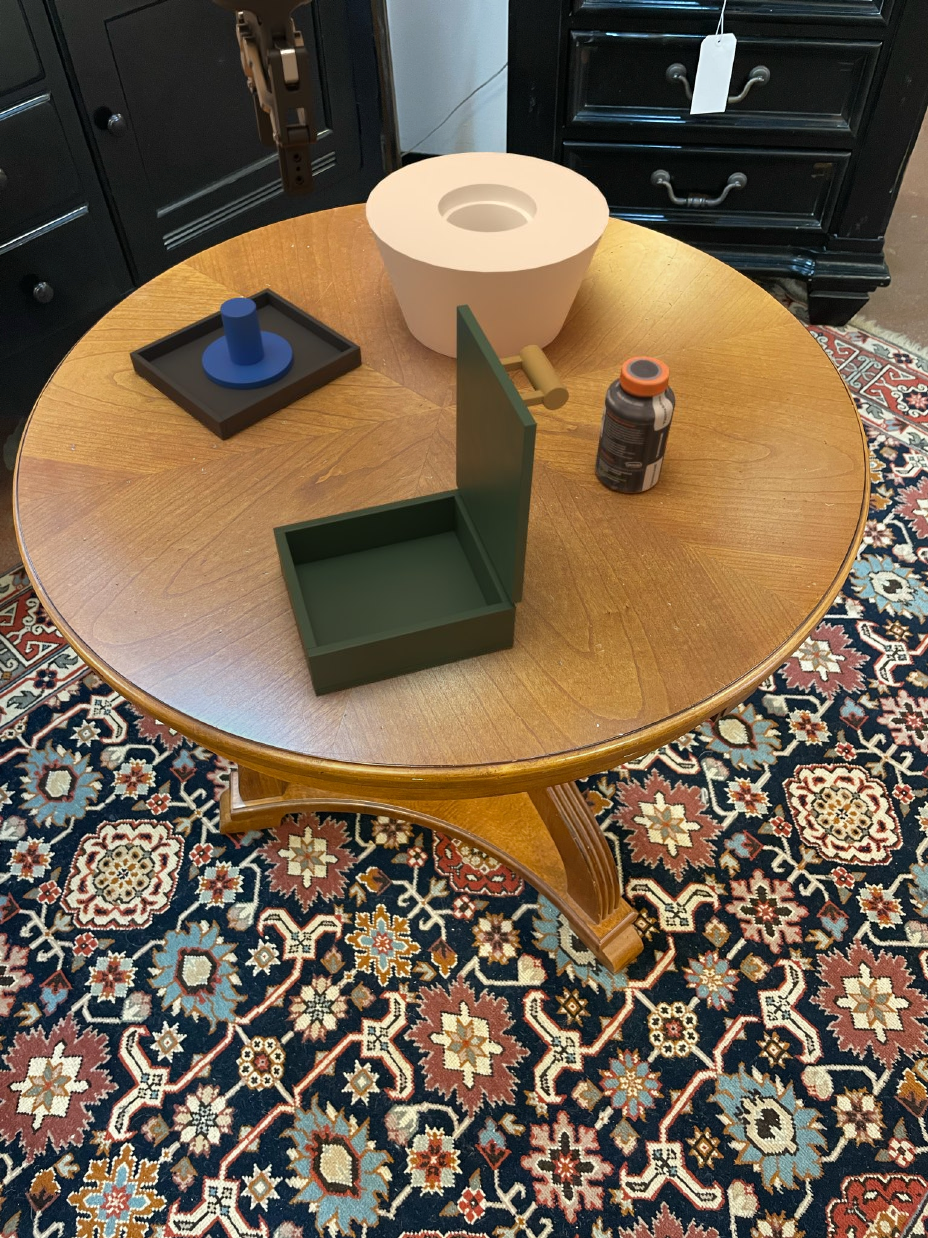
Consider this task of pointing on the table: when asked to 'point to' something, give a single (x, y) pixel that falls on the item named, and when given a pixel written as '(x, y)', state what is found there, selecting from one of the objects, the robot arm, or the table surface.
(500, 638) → the green chest
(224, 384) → the blue lid
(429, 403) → the table surface
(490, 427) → the chest lid
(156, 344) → the tray
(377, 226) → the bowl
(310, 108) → the robot arm
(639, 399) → the pill bottle
